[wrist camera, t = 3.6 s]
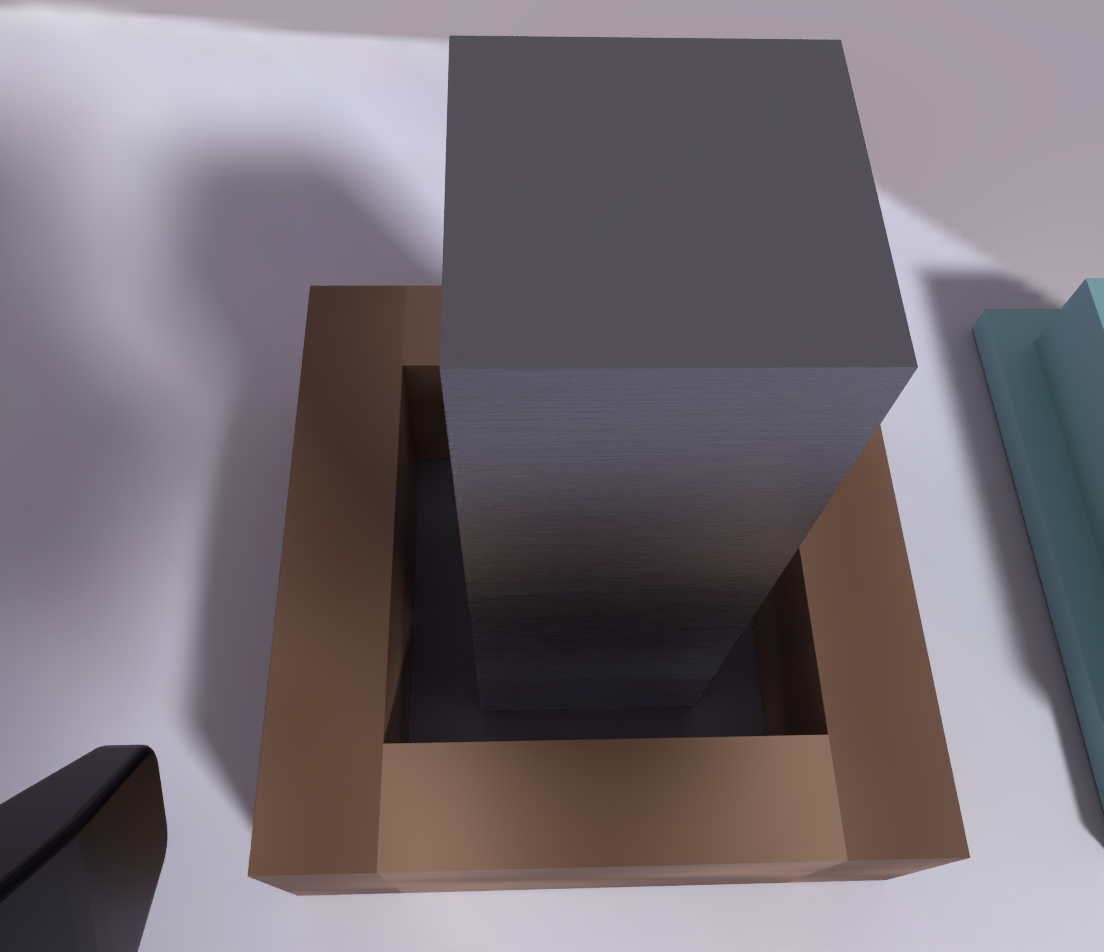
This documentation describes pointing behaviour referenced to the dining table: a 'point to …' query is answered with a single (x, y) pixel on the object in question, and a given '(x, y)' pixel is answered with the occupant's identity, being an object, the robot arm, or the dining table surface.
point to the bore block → (569, 765)
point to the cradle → (1059, 473)
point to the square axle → (651, 347)
